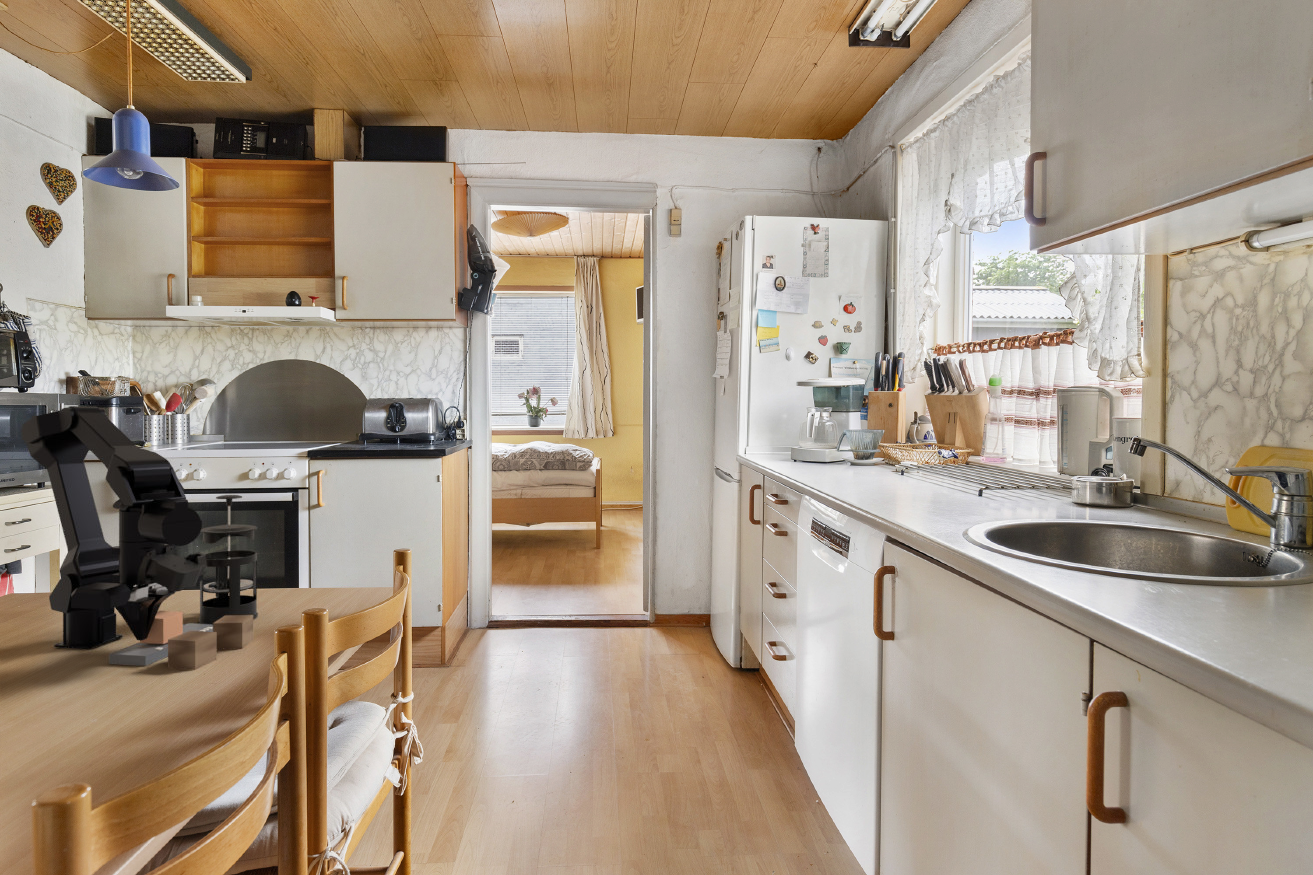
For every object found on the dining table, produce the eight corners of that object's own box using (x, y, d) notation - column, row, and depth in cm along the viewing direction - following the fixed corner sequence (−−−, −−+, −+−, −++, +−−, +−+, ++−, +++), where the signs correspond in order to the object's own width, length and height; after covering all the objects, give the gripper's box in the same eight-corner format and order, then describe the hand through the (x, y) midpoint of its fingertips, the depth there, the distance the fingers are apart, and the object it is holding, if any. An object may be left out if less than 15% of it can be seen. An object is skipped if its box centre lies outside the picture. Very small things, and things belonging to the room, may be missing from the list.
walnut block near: (168, 668, 106) (168, 639, 106) (190, 658, 110) (190, 630, 110) (195, 670, 106) (195, 641, 105) (216, 660, 110) (216, 632, 110)
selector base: (108, 663, 107) (108, 652, 107) (188, 631, 123) (188, 621, 123) (145, 665, 107) (145, 654, 106) (220, 633, 122) (220, 623, 122)
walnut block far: (212, 650, 114) (212, 623, 114) (224, 641, 119) (224, 615, 119) (242, 649, 115) (242, 622, 115) (253, 640, 119) (253, 614, 119)
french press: (265, 620, 130) (265, 496, 130) (205, 630, 124) (205, 499, 123) (248, 607, 139) (248, 490, 138) (191, 615, 132) (192, 493, 132)
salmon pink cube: (139, 642, 112) (139, 617, 111) (159, 634, 115) (159, 610, 115) (163, 643, 111) (163, 618, 111) (182, 636, 115) (182, 611, 115)
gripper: (139, 553, 99) (139, 663, 99) (233, 531, 117) (232, 624, 118) (67, 549, 100) (67, 658, 101) (171, 528, 119) (171, 621, 119)
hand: (141, 639), depth 110 cm, fingers closed
